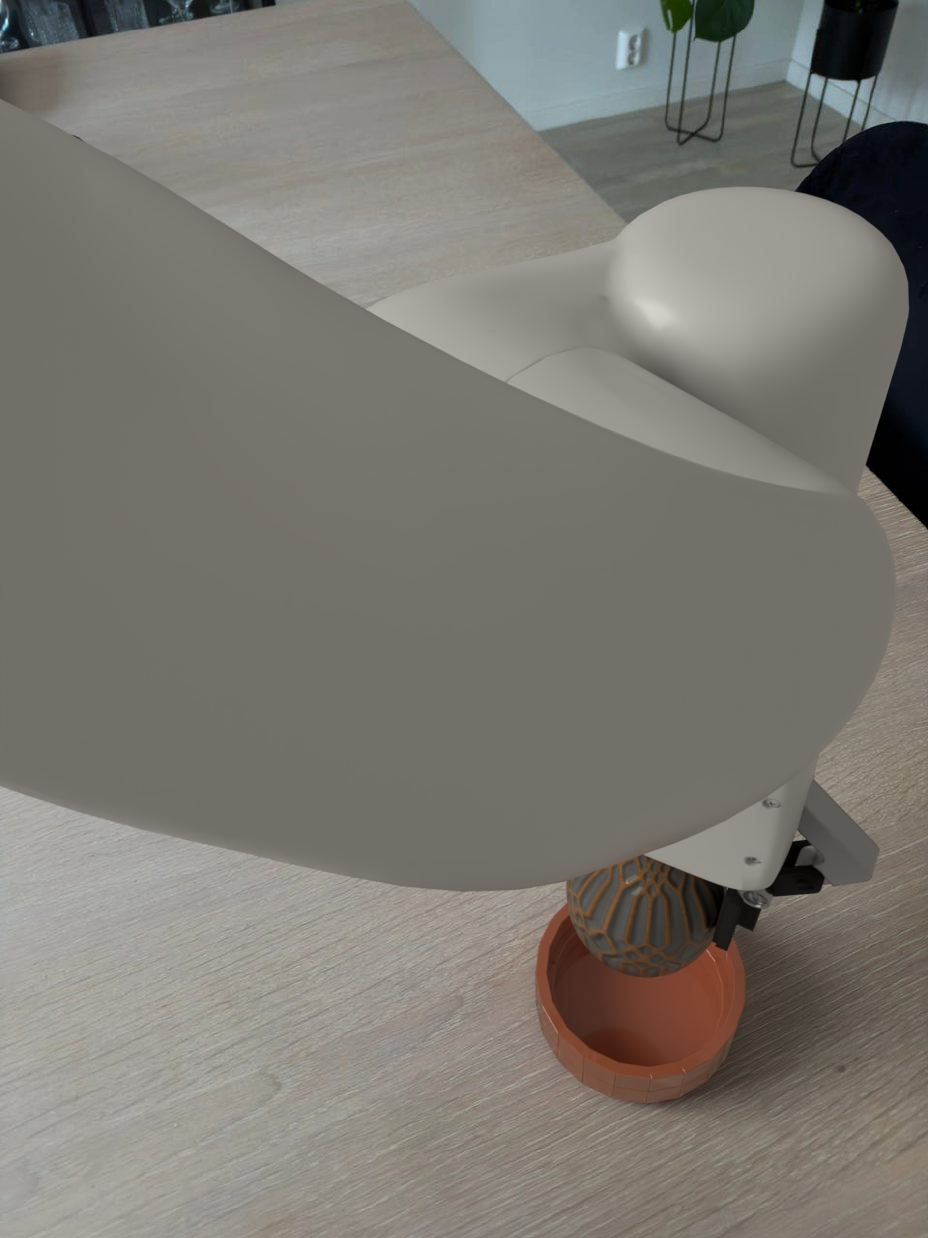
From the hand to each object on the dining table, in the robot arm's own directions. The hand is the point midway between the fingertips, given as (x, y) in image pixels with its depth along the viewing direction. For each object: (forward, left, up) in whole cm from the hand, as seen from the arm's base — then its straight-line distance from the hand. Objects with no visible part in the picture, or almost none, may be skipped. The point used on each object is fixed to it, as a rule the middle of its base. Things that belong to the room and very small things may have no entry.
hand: (646, 882), depth 47 cm
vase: (0, 0, -4) cm, 4 cm away
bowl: (0, 0, -14) cm, 14 cm away
